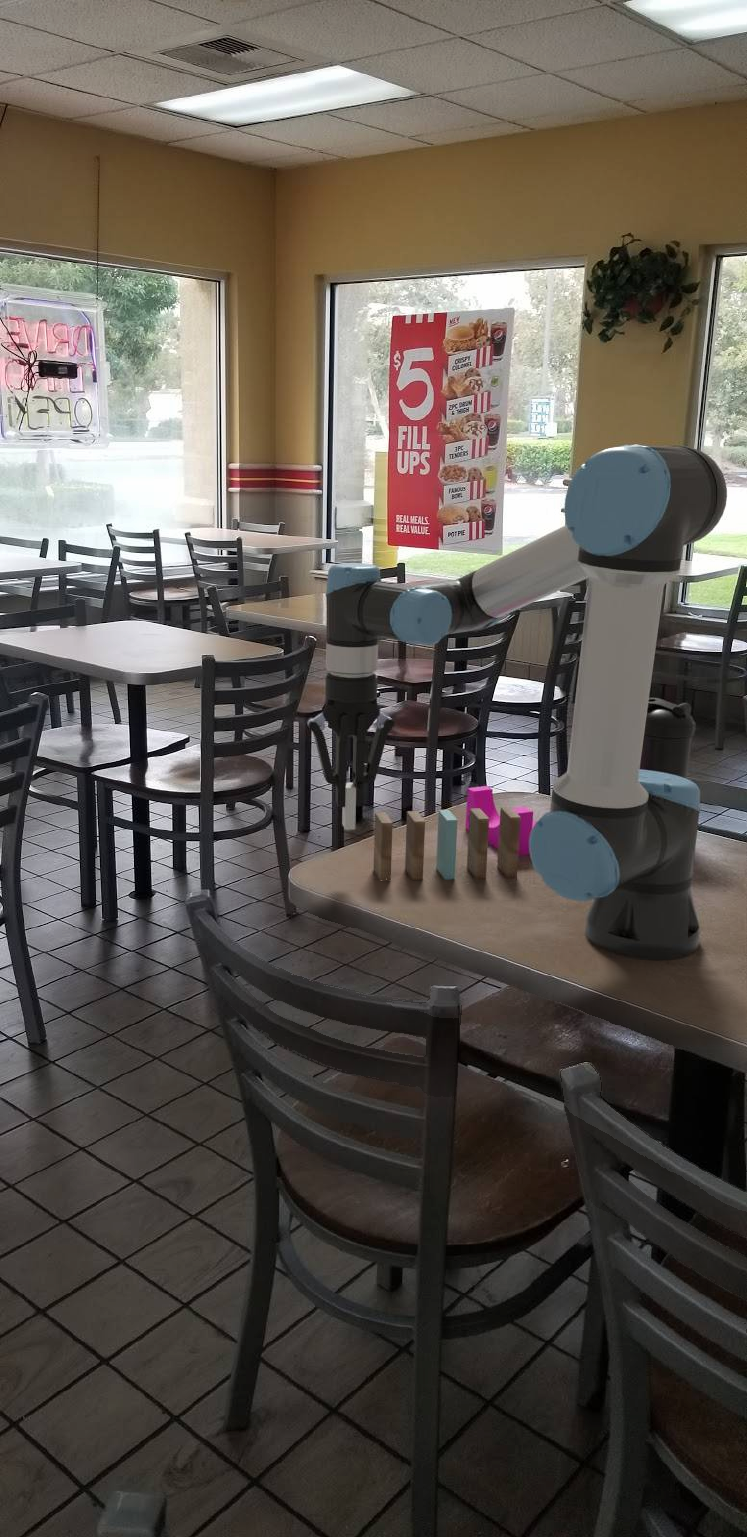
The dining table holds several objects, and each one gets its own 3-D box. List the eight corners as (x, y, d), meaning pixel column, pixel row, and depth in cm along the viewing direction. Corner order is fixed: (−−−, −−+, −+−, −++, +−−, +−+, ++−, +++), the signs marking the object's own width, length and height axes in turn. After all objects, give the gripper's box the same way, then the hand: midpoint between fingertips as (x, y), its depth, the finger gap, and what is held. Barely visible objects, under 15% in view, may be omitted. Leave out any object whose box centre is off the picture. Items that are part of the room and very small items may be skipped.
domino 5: (506, 867, 191) (510, 807, 188) (516, 878, 186) (520, 817, 183) (497, 867, 190) (500, 807, 188) (506, 879, 186) (510, 817, 183)
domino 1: (383, 873, 187) (385, 812, 184) (390, 885, 182) (392, 822, 179) (373, 874, 186) (375, 812, 183) (380, 885, 182) (382, 823, 179)
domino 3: (444, 882, 184) (447, 820, 181) (436, 870, 188) (438, 810, 185) (454, 882, 184) (457, 819, 181) (446, 870, 189) (448, 809, 186)
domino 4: (476, 868, 190) (479, 808, 187) (485, 880, 185) (489, 818, 182) (466, 869, 189) (469, 808, 186) (475, 880, 185) (479, 818, 182)
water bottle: (638, 817, 216) (649, 692, 210) (692, 829, 211) (706, 701, 204) (614, 831, 208) (625, 702, 202) (670, 844, 203) (684, 711, 196)
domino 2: (414, 871, 188) (417, 810, 185) (422, 883, 183) (425, 821, 180) (404, 872, 187) (407, 811, 184) (412, 884, 183) (414, 821, 180)
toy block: (543, 853, 198) (546, 809, 196) (510, 857, 195) (513, 814, 193) (496, 825, 211) (499, 784, 209) (465, 829, 208) (467, 788, 206)
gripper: (389, 666, 179) (385, 817, 185) (302, 667, 176) (301, 820, 183) (401, 676, 172) (396, 832, 178) (311, 678, 169) (309, 837, 175)
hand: (348, 826), depth 180 cm, fingers closed
